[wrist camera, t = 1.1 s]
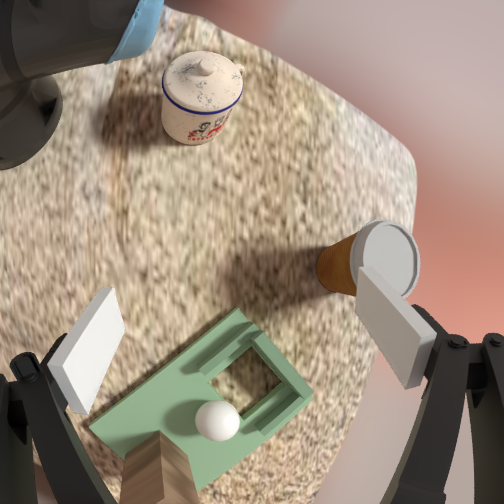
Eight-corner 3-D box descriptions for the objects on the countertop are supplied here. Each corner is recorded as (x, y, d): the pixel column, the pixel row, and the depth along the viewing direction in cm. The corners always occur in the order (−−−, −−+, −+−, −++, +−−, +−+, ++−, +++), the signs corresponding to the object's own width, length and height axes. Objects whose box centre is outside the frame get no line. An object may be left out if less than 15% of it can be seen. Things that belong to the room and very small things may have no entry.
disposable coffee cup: (343, 316, 41) (402, 322, 30) (292, 277, 40) (343, 272, 28) (372, 260, 44) (432, 251, 32) (327, 220, 42) (382, 198, 31)
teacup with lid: (190, 160, 38) (204, 113, 27) (145, 115, 36) (145, 59, 25) (254, 112, 41) (284, 63, 30) (211, 72, 40) (230, 18, 29)
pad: (90, 422, 30) (82, 439, 25) (235, 307, 37) (246, 310, 32) (177, 497, 32) (180, 518, 27) (308, 395, 39) (326, 406, 34)
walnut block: (125, 454, 30) (117, 524, 16) (159, 429, 31) (164, 498, 18) (153, 478, 30) (159, 550, 17) (187, 455, 32) (206, 525, 18)
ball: (184, 411, 32) (188, 428, 28) (215, 386, 34) (224, 400, 29) (211, 437, 33) (219, 456, 28) (242, 413, 34) (254, 429, 30)
